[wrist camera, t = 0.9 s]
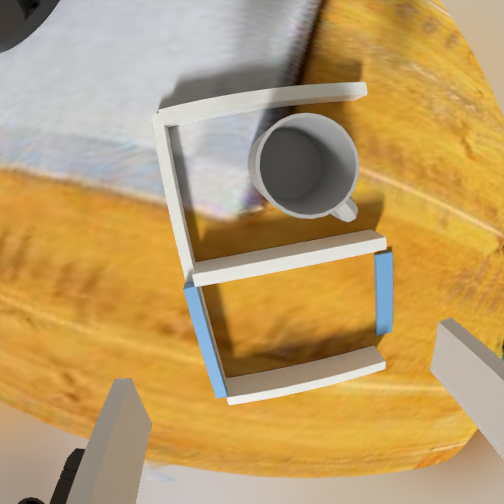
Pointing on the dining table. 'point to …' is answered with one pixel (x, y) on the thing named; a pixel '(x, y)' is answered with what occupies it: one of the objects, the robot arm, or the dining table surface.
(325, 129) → the cup
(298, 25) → the dining table surface
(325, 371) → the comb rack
